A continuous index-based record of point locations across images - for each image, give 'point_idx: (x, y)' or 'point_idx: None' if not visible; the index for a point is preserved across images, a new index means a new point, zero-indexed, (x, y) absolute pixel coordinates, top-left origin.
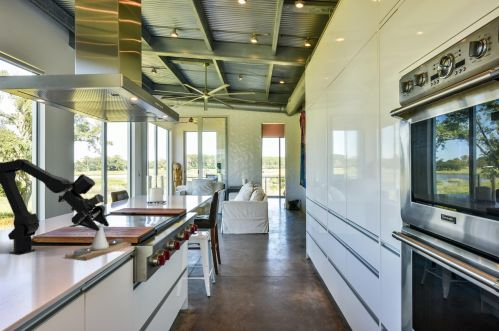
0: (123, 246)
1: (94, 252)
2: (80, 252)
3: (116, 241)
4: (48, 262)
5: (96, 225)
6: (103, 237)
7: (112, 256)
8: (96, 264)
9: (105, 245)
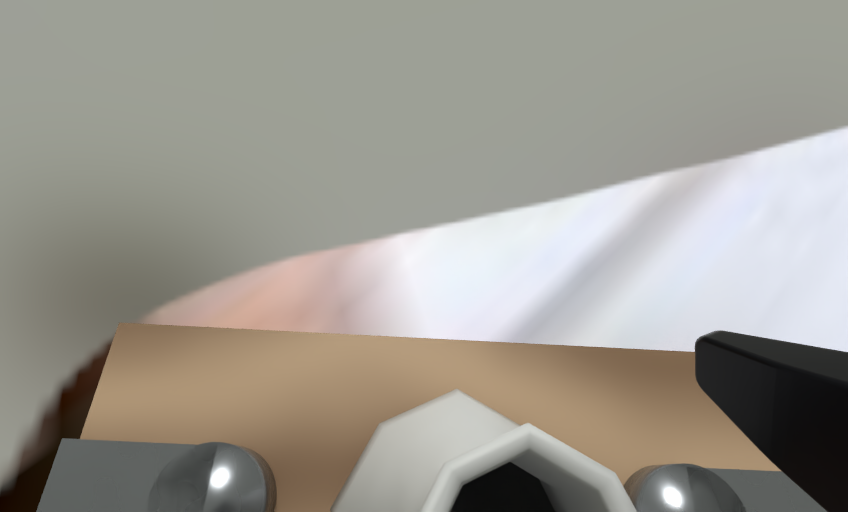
0: (253, 332)
1: (616, 423)
2: None
3: (206, 443)
4: None
5: (840, 363)
6: (481, 427)
7: (547, 238)
8: (756, 207)
9: (467, 399)
